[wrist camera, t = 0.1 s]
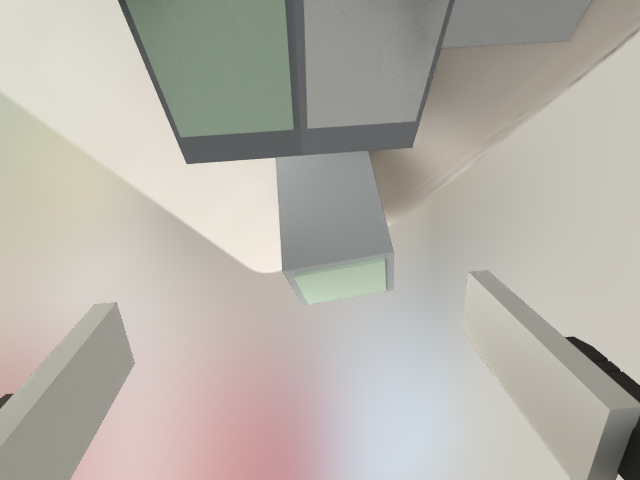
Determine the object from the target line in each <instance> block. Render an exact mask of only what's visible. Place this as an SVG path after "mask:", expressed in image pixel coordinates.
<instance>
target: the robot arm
mask: <svg viewBox="0 0 640 480" xmlns="http://www.w3.org/2000/svg"><path fill="white" fill-rule="evenodd" d="M462 333H463V334H464V335H465V337H466V338H467V339H468V341H469V342H470V343H471V345H472V346H473V348H474V349H475V350H476V351H477V353H478V354H479V356H480V357H481V358H482V360H483V361H484V362H485V364H486V365H487V367H488V368H489V369H490V371H491V372H492V373H493V375H494V376H495V377H496V379H497V380H498V381H499V383H500V384H501V385H502V387H503V388H504V389H505V390H506V392H507V393H508V395H509V396H510V397H511V399H512V400H513V402H514V403H515V404H516V406H517V407H518V408H519V410H520V411H521V412H522V414H523V415H524V417H525V418H526V419H527V421H528V422H529V423H530V425H531V426H532V427H533V429H534V430H535V431H536V433H537V434H538V435H539V437H540V438H541V440H542V441H543V442H544V444H545V445H546V446H547V448H548V449H549V450H550V452H551V453H552V454H553V456H554V457H555V458H556V460H557V461H558V462H559V464H560V465H561V466H562V468H563V469H564V471H565V472H566V473H567V475H568V476H569V477H570V479H571V480H616V478H617V475H618V473H619V475H620V476H621V477H622V478H623V479H624V480H640V385H638V384H637V383H636V382H635V381H634V380H633V379H631V378H630V377H629V376H628V375H626V374H625V373H624V372H621V371H620V369H619V368H618V367H617V366H615V365H614V364H613V363H612V362H611V361H608V359H607V358H606V357H605V356H603V355H602V354H601V353H600V352H598V351H597V350H596V349H595V348H594V347H593V346H591V345H589V344H587V343H585V342H583V341H581V340H579V339H577V338H575V337H563V336H562V335H561V334H560V333H559V332H558V331H557V330H555V329H554V328H553V327H552V326H551V325H550V324H549V323H548V322H546V321H545V320H544V319H543V318H542V317H541V316H540V315H538V314H537V313H536V312H535V311H534V310H533V309H532V308H530V307H529V306H528V305H527V304H526V303H525V302H524V301H522V300H521V299H520V298H519V297H518V296H517V295H515V294H514V293H513V292H512V291H511V290H510V289H509V288H508V287H506V286H505V285H504V284H503V283H502V282H501V281H499V280H498V279H497V278H496V277H495V276H494V275H492V273H490V272H489V271H488V270H485V271H473V272H469V273H468V281H467V290H466V298H465V307H464V316H463V324H462ZM134 364H135V362H134V359H133V356H132V352H131V349H130V345H129V342H128V339H127V335H126V332H125V329H124V326H123V322H122V319H121V315H120V312H119V309H118V305H117V303H116V302H115V303H103V304H94V306H93V307H92V308H91V309H90V310H89V311H88V312H87V313H86V314H85V316H84V317H83V318H82V319H81V320H80V321H79V322H78V323H77V325H76V326H75V327H74V328H73V329H72V330H71V331H70V332H69V333H68V335H67V336H66V337H65V338H64V339H63V340H62V341H61V342H60V343H59V344H58V346H57V347H56V348H55V349H54V350H53V351H52V352H51V353H50V354H49V356H48V357H47V358H46V359H45V360H44V361H43V362H42V363H41V364H40V366H39V367H38V368H37V369H36V370H35V371H34V372H33V373H32V374H31V375H30V377H29V378H28V379H27V380H26V381H25V382H24V383H23V385H22V386H21V387H20V388H19V389H18V390H17V391H16V392H15V393H14V394H6V395H4V396H3V397H2V398H0V480H70V479H71V477H72V475H73V474H74V472H75V470H76V468H77V466H78V464H79V463H80V461H81V459H82V457H83V456H84V454H85V452H86V450H87V448H88V447H89V445H90V443H91V441H92V439H93V437H94V436H95V434H96V432H97V430H98V428H99V427H100V425H101V423H102V421H103V420H104V418H105V416H106V414H107V412H108V411H109V409H110V407H111V405H112V403H113V402H114V400H115V398H116V396H117V394H118V393H119V391H120V389H121V387H122V385H123V384H124V382H125V380H126V378H127V376H128V374H129V373H130V371H131V369H132V367H133V366H134Z"/></svg>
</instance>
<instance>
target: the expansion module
mask: <svg viewBox="0 0 640 480" xmlns="http://www.w3.org/2000/svg"><path fill="white" fill-rule="evenodd" d="M276 169H277V186H278V203H279V221H280V238H281V255H282V271H283V273H284V275H285V277H286V279H287V280H288V282H289V284H290V286H291V287H292V289H293V291H294V293H295V294H296V296H297V298H298V300H299V301H300V303H301V305H308V304H314V303H320V302H326V301H332V300H338V299H344V298H349V297H355V296H362V295H367V294H374V293H379V292H385V291H391V290H394V289H393V288H394V286H393V283H394V282H393V281H394V280H393V279H394V277H393V276H394V251H393V247H392V243H391V239H390V235H389V232H388V227H387V223H386V219H385V215H384V211H383V207H382V203H381V199H380V195H379V191H378V187H377V183H376V179H375V175H374V171H373V167H372V163H371V159H370V155H369V151H359V152H345V153H331V154H317V155H304V156H290V157H276Z"/></svg>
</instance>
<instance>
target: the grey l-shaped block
mask: <svg viewBox="0 0 640 480" xmlns="http://www.w3.org/2000/svg"><path fill="white" fill-rule="evenodd" d="M591 1H592V0H118V2H119V4H120V6H121V9H122V11H123V13H124V16H125V18H126V21H127V23H128V25H129V28H130V30H131V33H132V35H133V37H134V40H135V42H136V44H137V47H138V49H139V52H140V54H141V56H142V59H143V61H144V63H145V66H146V68H147V71H148V73H149V75H150V78H151V80H152V82H153V85H154V87H155V90H156V92H157V94H158V97H159V99H160V102H161V104H162V106H163V109H164V111H165V113H166V116H167V118H168V121H169V123H170V125H171V128H172V130H173V132H174V135H175V137H176V140H177V142H178V144H179V147H180V149H181V152H182V154H183V156H184V159H185V161H186V163H187V164H194V163H207V162H221V161H235V160H249V159H262V158H276V157H290V156H304V155H317V154H331V153H345V152H359V151H372V150H386V149H400V148H412V147H413V143H414V140H415V136H416V133H417V129H418V126H419V122H420V119H421V116H422V112H423V109H424V105H425V102H426V98H427V95H428V91H429V88H430V85H431V81H432V78H433V74H434V71H435V67H436V64H437V60H438V57H439V54H440V50H441V48H453V47H471V46H489V45H507V44H525V43H543V42H561V41H568V40H569V39H570V37H571V35H572V34H573V32H574V30H575V28H576V27H577V25H578V23H579V21H580V20H581V18H582V16H583V15H584V13H585V11H586V9H587V8H588V6H589V4H590V2H591Z"/></svg>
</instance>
